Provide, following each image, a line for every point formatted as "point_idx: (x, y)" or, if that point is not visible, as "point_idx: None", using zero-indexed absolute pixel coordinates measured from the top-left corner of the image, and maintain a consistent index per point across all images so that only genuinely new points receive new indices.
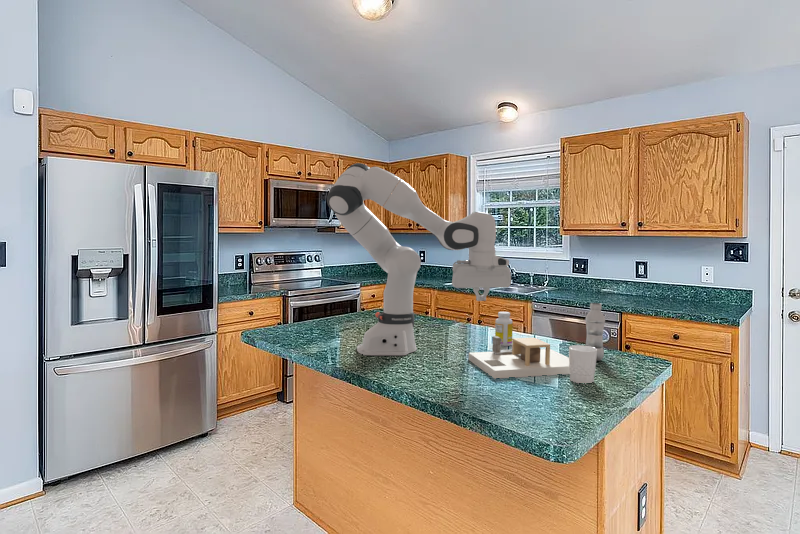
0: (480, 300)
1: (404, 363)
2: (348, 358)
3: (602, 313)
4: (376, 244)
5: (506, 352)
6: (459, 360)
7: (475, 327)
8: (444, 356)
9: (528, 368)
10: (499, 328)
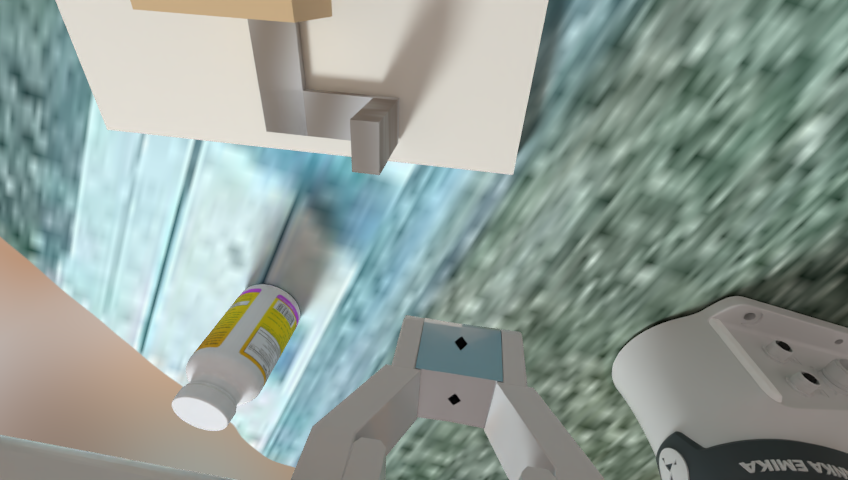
0: (484, 327)
1: (837, 195)
2: None
3: None
4: None
5: (339, 94)
6: (555, 165)
7: (296, 463)
8: (579, 238)
9: None
10: (263, 346)
